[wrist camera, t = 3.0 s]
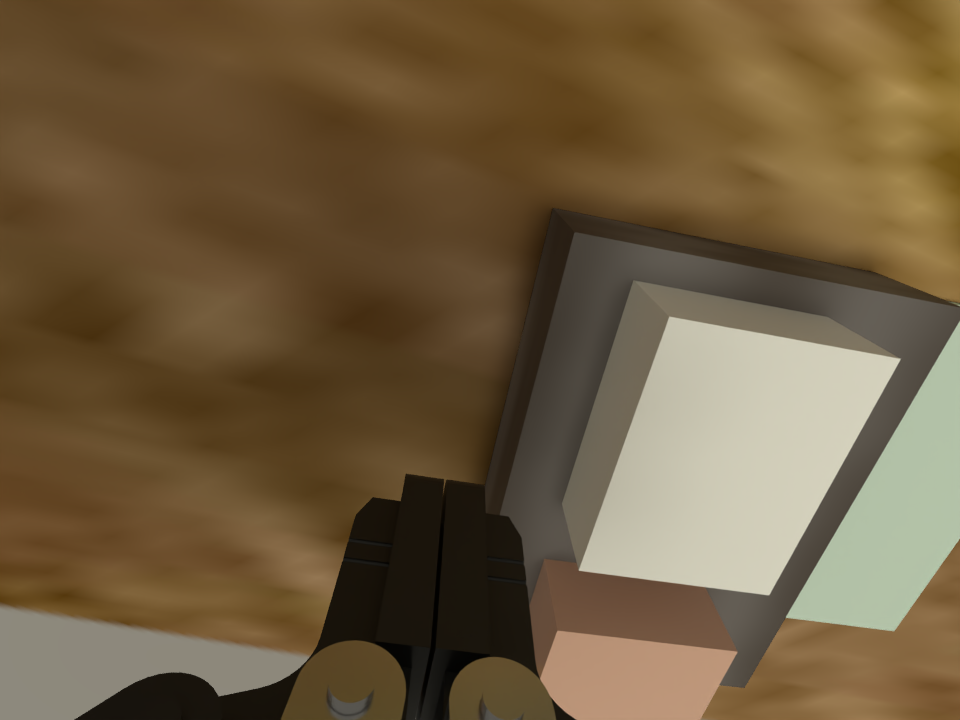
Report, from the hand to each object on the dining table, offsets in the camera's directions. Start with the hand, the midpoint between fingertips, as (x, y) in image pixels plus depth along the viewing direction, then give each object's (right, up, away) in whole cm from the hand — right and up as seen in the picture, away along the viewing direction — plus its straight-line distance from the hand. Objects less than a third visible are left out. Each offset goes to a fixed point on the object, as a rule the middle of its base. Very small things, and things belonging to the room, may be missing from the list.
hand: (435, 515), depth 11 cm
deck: (+8, 0, +12) cm, 14 cm away
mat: (+18, -2, +13) cm, 23 cm away
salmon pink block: (+6, -7, +11) cm, 14 cm away
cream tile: (+7, +1, +7) cm, 10 cm away
